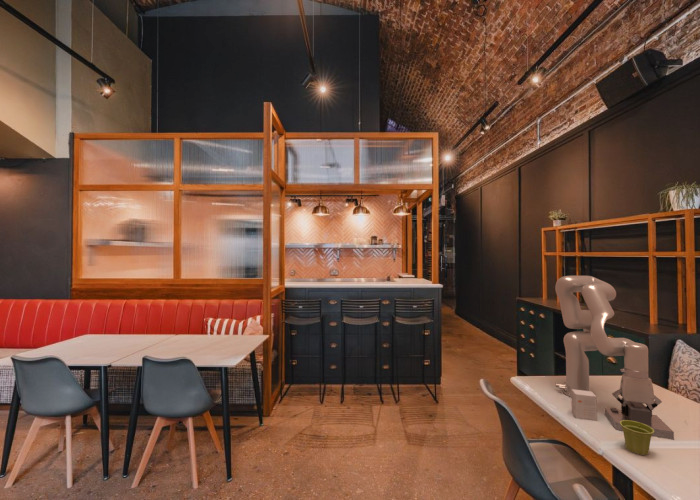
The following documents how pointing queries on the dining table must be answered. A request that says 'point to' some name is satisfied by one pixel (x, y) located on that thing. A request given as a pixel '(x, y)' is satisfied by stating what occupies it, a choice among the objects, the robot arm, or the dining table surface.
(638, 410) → the plug
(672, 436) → the socket
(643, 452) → the plant pot
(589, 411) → the small box
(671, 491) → the dining table surface
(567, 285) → the robot arm
